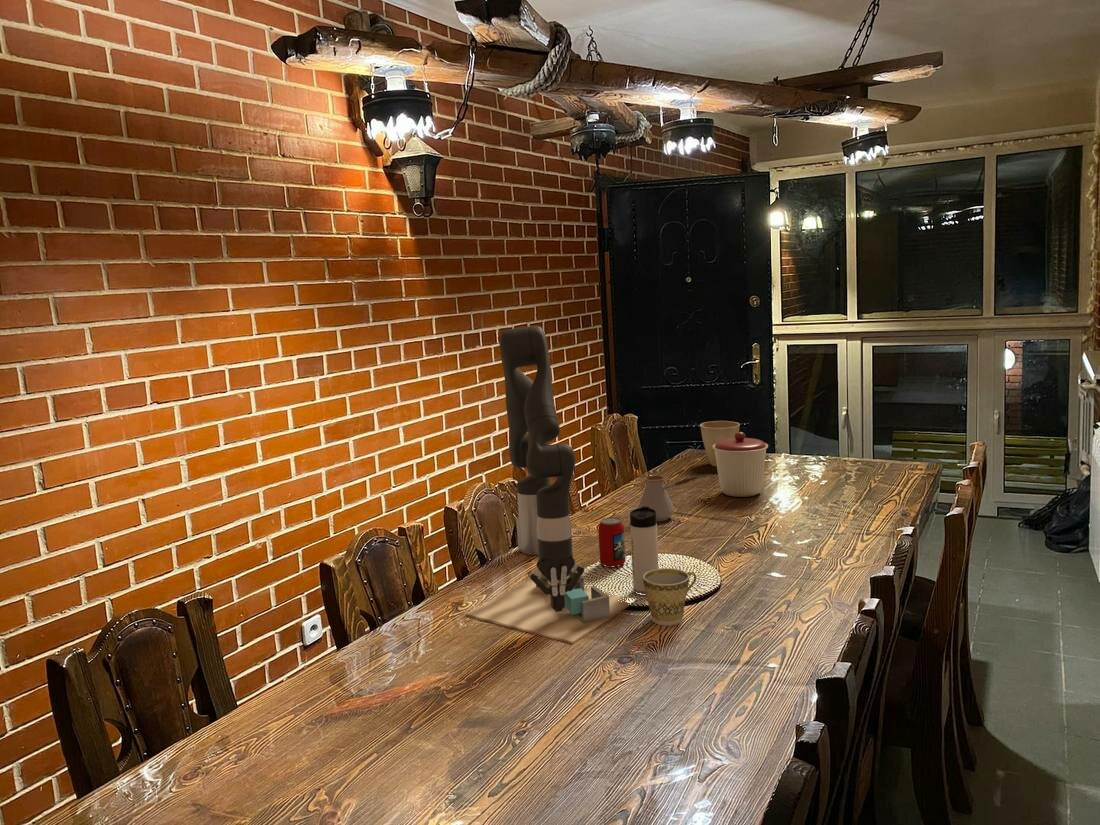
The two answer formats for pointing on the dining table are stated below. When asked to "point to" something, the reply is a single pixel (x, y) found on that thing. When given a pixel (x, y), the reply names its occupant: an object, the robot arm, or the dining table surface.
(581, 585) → the clip
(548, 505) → the robot arm
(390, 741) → the dining table surface
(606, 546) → the beverage can
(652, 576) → the ceramic cup
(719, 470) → the canister
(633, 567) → the travel mug
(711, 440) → the plant pot
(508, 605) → the board
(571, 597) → the cable arm
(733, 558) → the dining table surface
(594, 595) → the end holder
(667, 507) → the coffee pot
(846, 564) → the dining table surface
